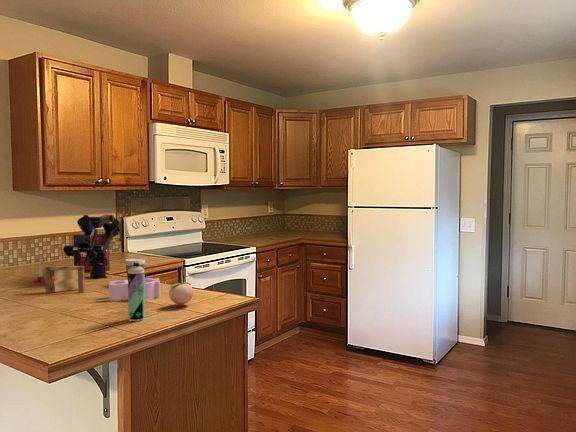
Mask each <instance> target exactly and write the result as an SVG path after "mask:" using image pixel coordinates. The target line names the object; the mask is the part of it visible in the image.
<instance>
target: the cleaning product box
mask: <svg viewBox="0 0 576 432" xmlns="http://www.w3.org/2000/svg"><path fill="white" fill-rule="evenodd" d="M83 235H84V233H79V234H72V239H73V241H72V243H73V246H74V247H78V244H77V243H75V239H76V236H83ZM103 235H104V233H103V234H101V233H98V236H96V239H95V245H93V247H95V246H96V245H98V244H99V242H100V240H101V238H102V237H103ZM78 248H79V247H78ZM106 251H107V253H106V257H107V259H108V266H106V272H107V271H110V245H109V246H108V248H107V250H106ZM80 255H81V260H80V262H79V265H78V266H83V264H84V260H85V258H86V255H87V253H80ZM73 266H76V262H75V256H73ZM90 269H91V266H88V264H87V265H86V266H84V273H90Z"/></svg>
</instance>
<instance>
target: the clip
mask: <svg viewBox="0 0 576 432" xmlns="http://www.w3.org/2000/svg"><path fill="white" fill-rule="evenodd" d="M155 297H160V298H161V281H160V278H159V277H158V278H152V277H151V278H150V277H148V278H147V277H145V301H147V300H146V299H149V300H152V298H153V299H156V298H155ZM121 300H123V301H128V279H127V280H126V279H124V280H111V281H109V282H108V301H110V302H121Z"/></svg>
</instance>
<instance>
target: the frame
mask: <svg viewBox="0 0 576 432" xmlns="http://www.w3.org/2000/svg"><path fill="white" fill-rule="evenodd" d="M54 270H78V289H77V290H78V291H77V292H78V294H84V293H85V292H86V287H85V286H86V283H85V281H86V280H85V277H86V276H85V273H86V272H84V266H74V265H70V266H68V265H66V266H64V265H61V266H60V265H58V266H57V265H52V266H51V265H49V266H48V265H47V266H45V267H44V278H45V282H44V283H45V294H52V293H53V292H54V291H52V286H53V281H52V277H53V276H52V271H54Z"/></svg>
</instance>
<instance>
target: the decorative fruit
mask: <svg viewBox="0 0 576 432" xmlns="http://www.w3.org/2000/svg"><path fill="white" fill-rule="evenodd" d="M168 296H169V299H170V300H171V301H172V303H174V304H176V305H178V306H180V305H182V306H183V305H185V304H187V303H188V302H190V301H191V300H192V298H193V296H194V288H193V287H192V284H191V283H190V282H187V281H182V280H180V282H179V283H177V282H176V283H174V284H172V285H170V289H169V291H168Z"/></svg>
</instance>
